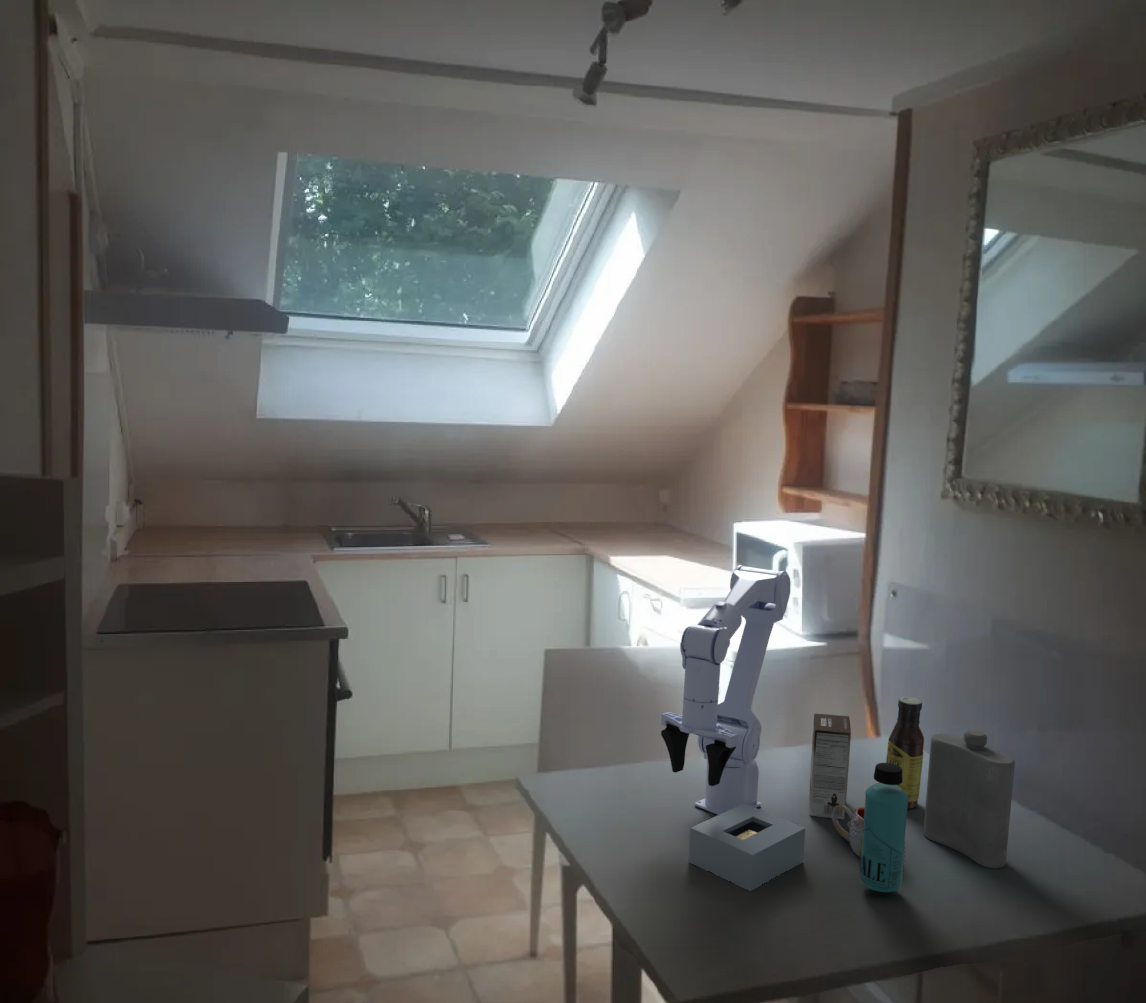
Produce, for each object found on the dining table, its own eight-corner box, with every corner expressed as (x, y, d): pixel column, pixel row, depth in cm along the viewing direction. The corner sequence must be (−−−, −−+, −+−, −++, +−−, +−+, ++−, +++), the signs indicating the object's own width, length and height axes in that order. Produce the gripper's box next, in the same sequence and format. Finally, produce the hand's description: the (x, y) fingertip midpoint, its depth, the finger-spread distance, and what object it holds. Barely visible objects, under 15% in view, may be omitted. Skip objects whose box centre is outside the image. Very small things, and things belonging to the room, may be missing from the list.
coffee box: (807, 795, 192) (813, 712, 190) (843, 799, 191) (849, 715, 189) (808, 816, 183) (814, 729, 181) (846, 820, 182) (852, 732, 180)
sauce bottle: (877, 796, 193) (885, 693, 190) (910, 796, 193) (918, 693, 190) (891, 811, 186) (899, 704, 183) (924, 811, 187) (933, 705, 184)
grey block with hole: (742, 836, 175) (744, 803, 174) (803, 862, 166) (805, 828, 165) (688, 862, 165) (690, 827, 164) (750, 891, 156) (752, 855, 156)
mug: (901, 858, 169) (905, 819, 168) (872, 867, 165) (875, 827, 165) (847, 828, 179) (850, 791, 178) (818, 836, 176) (821, 798, 175)
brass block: (748, 853, 168) (749, 829, 167) (758, 857, 166) (759, 833, 166) (733, 861, 165) (734, 837, 164) (743, 865, 164) (745, 841, 163)
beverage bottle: (902, 885, 160) (912, 761, 157) (901, 906, 153) (911, 777, 151) (859, 877, 162) (867, 754, 159) (855, 898, 156) (865, 770, 153)
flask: (1015, 863, 168) (1026, 745, 165) (992, 872, 165) (1003, 751, 162) (939, 827, 181) (949, 716, 178) (917, 834, 178) (926, 721, 175)
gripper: (651, 691, 173) (646, 770, 175) (721, 713, 163) (716, 796, 165) (678, 684, 178) (673, 761, 180) (748, 705, 168) (742, 786, 170)
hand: (695, 777), depth 173 cm, fingers open, 7 cm apart
